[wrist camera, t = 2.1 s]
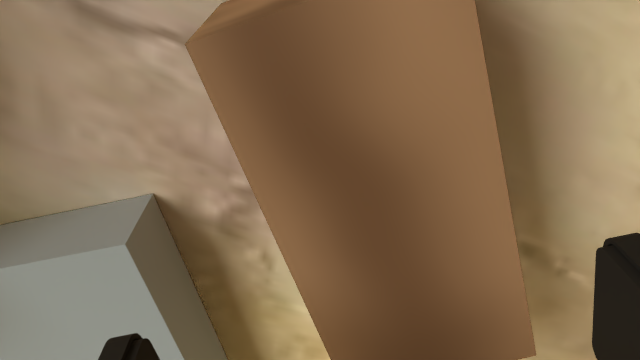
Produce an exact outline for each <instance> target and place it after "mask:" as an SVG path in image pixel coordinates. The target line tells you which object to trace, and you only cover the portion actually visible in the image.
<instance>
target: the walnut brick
mask: <svg viewBox="0 0 640 360" xmlns="http://www.w3.org/2000/svg"><path fill="white" fill-rule="evenodd" d="M185 46H186V48H187V50H188V52H189V54H190V56H191V59H192V61H193V63H194V65H195V67H196V69H197V72H198V74H199V76H200V78H201V80H202V82H203V85H204V87H205V89H206V91H207V93H208V95H209V97H210V100H211V102H212V104H213V106H214V108H215V110H216V113H217V115H218V117H219V119H220V121H221V123H222V126H223V128H224V130H225V132H226V134H227V136H228V138H229V141H230V143H231V145H232V147H233V149H234V151H235V154H236V156H237V158H238V160H239V162H240V164H241V167H242V169H243V171H244V173H245V175H246V177H247V180H248V182H249V184H250V186H251V188H252V190H253V192H254V195H255V197H256V199H257V201H258V203H259V205H260V208H261V210H262V212H263V214H264V216H265V218H266V221H267V223H268V225H269V227H270V229H271V231H272V233H273V236H274V238H275V240H276V242H277V244H278V246H279V249H280V251H281V253H282V255H283V257H284V259H285V262H286V264H287V266H288V268H289V270H290V272H291V274H292V277H293V279H294V281H295V283H296V285H297V287H298V290H299V292H300V294H301V296H302V298H303V300H304V303H305V305H306V307H307V309H308V311H309V313H310V315H311V318H312V320H313V322H314V324H315V326H316V328H317V331H318V333H319V335H320V337H321V339H322V341H323V344H324V346H325V348H326V350H327V352H328V354H329V357H330V359H331V360H518V359H522V358H527V357H531V356H536V351H535V345H534V339H533V333H532V327H531V322H530V316H529V310H528V304H527V299H526V293H525V287H524V281H523V276H522V270H521V264H520V258H519V253H518V247H517V241H516V235H515V230H514V224H513V218H512V212H511V207H510V201H509V195H508V189H507V183H506V178H505V172H504V166H503V160H502V155H501V149H500V143H499V137H498V132H497V126H496V120H495V114H494V109H493V103H492V97H491V91H490V86H489V80H488V74H487V68H486V63H485V57H484V51H483V45H482V39H481V34H480V28H479V22H478V16H477V11H476V5H475V0H229V1H227V2H224V3H221V4H220V6H219V7H218V8H217V9H216V10H215V11H214V12H213V13H212V14H211V16H210V17H209V18H208V19H207V20H206V21H205V22H204V23H203V25H202V26H201V27H200V28H199V29H198V30H197V31H196V32H195V33H194V35H193V36H192V37H191V38H190V39H189V40H188V41H187V42H186V44H185Z"/></svg>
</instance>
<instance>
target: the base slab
mask: <svg viewBox="0 0 640 360" xmlns="http://www.w3.org/2000/svg"><path fill="white" fill-rule="evenodd" d="M133 333H138V334H139V335H141V337H142V338H143V339H144V338H147V339H149V340H150V342H151V343H152V345H153V347H154V349H155V351H156V353H157V355H158V357H159V358H160V360H228V359H227V357H226V355H225V352H224V350H223V348H222V346H221V343H220V341H219V339H218V337H217V335H216V332H215V330H214V328H213V326H212V324H211V321H210V319H209V317H208V315H207V313H206V310H205V308H204V306H203V304H202V301H201V299H200V297H199V295H198V293H197V290H196V288H195V286H194V284H193V282H192V279H191V277H190V275H189V273H188V271H187V268H186V266H185V264H184V262H183V259H182V257H181V255H180V253H179V251H178V248H177V246H176V244H175V242H174V240H173V237H172V235H171V233H170V231H169V229H168V226H167V224H166V222H165V220H164V217H163V215H162V213H161V211H160V209H159V206H158V204H157V202H156V200H155V198H154V195H153V194H150V195H145V196H140V197H135V198H130V199H125V200H121V201H116V202H111V203H106V204H101V205H96V206H91V207H86V208H81V209H76V210H72V211H67V212H62V213H57V214H52V215H47V216H42V217H37V218H32V219H27V220H23V221H18V222H13V223H8V224H3V225H0V360H98V358H99V356H100V354H101V352H102V350H103V347H104V345H105V343H106V342H107V340H108V339H110V338H113V337H118V336H123V335H128V334H133Z"/></svg>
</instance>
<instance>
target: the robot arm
mask: <svg viewBox="0 0 640 360" xmlns="http://www.w3.org/2000/svg"><path fill="white" fill-rule="evenodd" d="M592 346H593V350H594V353H595V356H596V358H597V360H640V234H639V233H633V234H628V235H623V236H618V237H613V238H608V239H606V240H605V242H604V245H603V247H601V248H598V249H597V251H596V266H595V289H594V311H593V334H592ZM98 360H160V358H159V357H158V355H157V353H156V351H155V349H154V347H153V345H152V343H151V342H150V340H149V339H147V338H144V339H143V338H142V337H141V335H139V334H138V333H133V334H128V335H123V336H118V337H113V338H110V339H108V340H107V342H106V343H105V345H104V347H103V350H102V352H101V354H100V356H99V358H98Z"/></svg>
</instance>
